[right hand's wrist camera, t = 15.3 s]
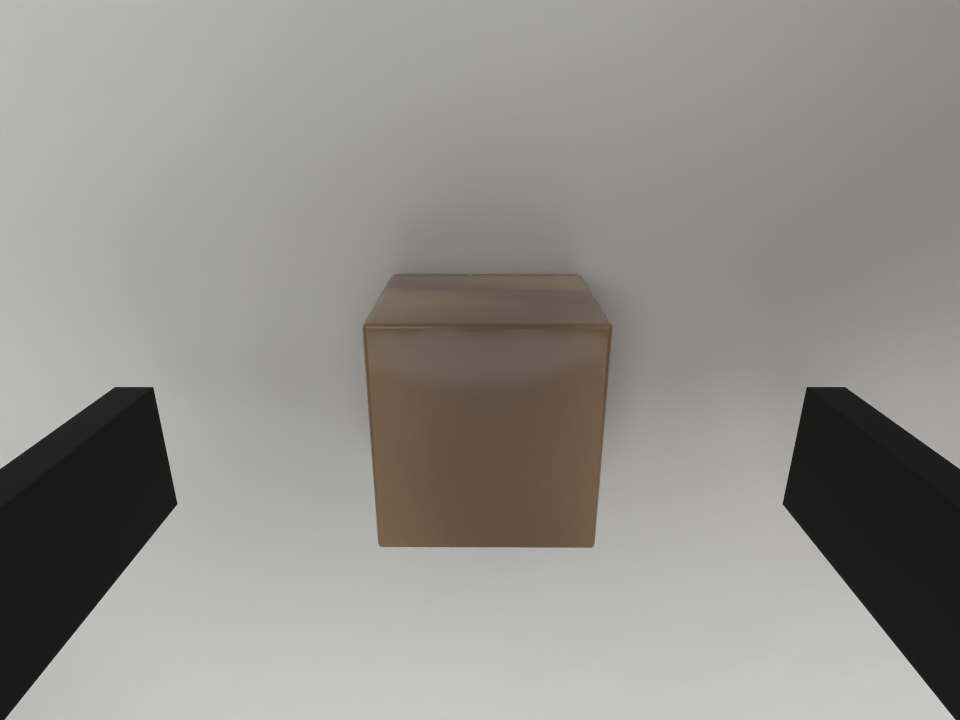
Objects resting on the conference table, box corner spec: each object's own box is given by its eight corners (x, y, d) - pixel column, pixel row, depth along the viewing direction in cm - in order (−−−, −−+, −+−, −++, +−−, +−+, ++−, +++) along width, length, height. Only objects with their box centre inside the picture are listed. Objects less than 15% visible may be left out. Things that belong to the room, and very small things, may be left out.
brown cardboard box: (401, 453, 17) (377, 548, 13) (391, 273, 15) (361, 323, 12) (570, 454, 17) (595, 549, 13) (581, 274, 15) (613, 324, 12)
